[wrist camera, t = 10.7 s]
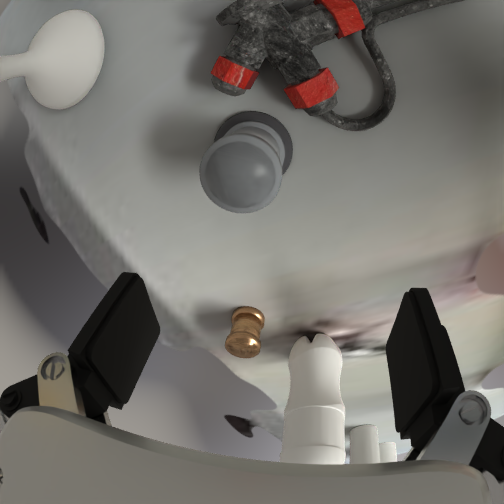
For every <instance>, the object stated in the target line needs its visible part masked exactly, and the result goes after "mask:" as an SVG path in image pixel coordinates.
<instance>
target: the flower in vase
mask: <svg viewBox="0 0 504 504" xmlns="http://www.w3.org/2000/svg"><path fill="white" fill-rule="evenodd" d="M104 53H105V44H104V37H103V32H102V29H101V27H100V25H99V23H98V21H97V20H96V19H95V17H94V16H92V15H91V14H90V13H88V12H86V11H83V10H78V9H75V10H68V11H65V12H62V13H60V14H58V15H56V16H54V17H52V18H51V19H49V20H48V21H47V22H46V23H45V24H44V25H43V26H42V27H41V28H40V29H39V31H38V32H37V34H36V35H35V36H34V38H33V40H32V41H31V43H30V46H29V48H28V51H27V52H25V53H22V54H17V55H8V56H0V82H2V81H5V80H8V79H11V78H15V77H25V80H26V84H27V87H28V89H29V91H30V92H31V94H32V96H33V97H34V98H35V100H36V101H37V102H38V103H40V104H41V105H43V106H45V107H47V108H51V109H56V110H61V109H66V108H69V107H72V106H74V105H75V104H77V103H78V102H80V101H81V100H82V99H83V98H84V97H85V96H86V95H87V94H88V93H89V91H90V90H91V88H92V87H93V85H94V83H95V82H96V80H97V78H98V75H99V73H100V70H101V67H102V64H103V60H104Z"/></svg>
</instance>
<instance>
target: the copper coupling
mask: <svg viewBox="0 0 504 504" xmlns="http://www.w3.org/2000/svg"><path fill="white" fill-rule="evenodd" d="M231 321H232V324H233V325H232V329H231V333H230V334H229V335H228V336H227V338H226V342H225V348H226V350H227V351H228V352H229V353H231V354H232V355H234V356H236V357H240V358H252V357H255V356H256V355H258V354H259V352H260V348H261V342H260V340H259V338H260V332H261V329H262V328H263V326H264V321H265V318H264V315H263V313H262V312H261V311H259V310H258V309H256V308H253V307H249V306H244V307H239V308H237V309H236V310H235V311H234V312H233V315H232V319H231Z"/></svg>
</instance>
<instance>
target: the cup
mask: <svg viewBox="0 0 504 504" xmlns="http://www.w3.org/2000/svg"><path fill="white" fill-rule="evenodd" d="M379 451H380V463H386V462H397V453H396V444H395V443H394V442H384V443H379Z"/></svg>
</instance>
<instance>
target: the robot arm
mask: <svg viewBox="0 0 504 504" xmlns="http://www.w3.org/2000/svg"><path fill="white" fill-rule="evenodd" d="M159 334H160V326H159V323H158V321H157V318H156V315H155V313H154V310H153V307H152V304H151V301H150V299H149V296H148V293H147V290H146V287H145V284H144V281H143V279H142V278H141V277H140V276H139V275H138V274H137V273H129V272H123V273H122V274H121V275H120V276H119V277H118V279H117V280H116V281H115V283H114V284H113V285H112V287H111V288H110V289H109V291H108V292H107V294H106V295H105V296H104V298H103V299H102V301H101V302H100V303H99V305H98V306H97V308H96V309H95V310H94V312H93V313H92V315H91V316H90V318H89V319H88V321H87V322H86V324H85V325H84V327H83V328H82V330H81V331H80V333H79V334H78V335H77V337H76V339H75V340H74V341H73V343H72V345H71V346H70V348H69V349H68V351H69V355H68V356H66V355H65V354H63V353H58V352H56V353H52V354H50V355H48V356H46V357H45V358H44V359H43V360H42V361H41V363H40V365H39V367H38V372H37V375H35V376H32V377H30V378H28V379H25V380H23V381H21V382H18V383H16V384H14V385H11V386H10V387H8V388H7V389H5V390H4V391H3V393H2V395H1V398H0V504H504V427H503V426H501V425H500V424H499V423H497V422H496V421H494V420H493V419H492V418H490V416H491V407H490V404H489V401H488V400H487V399H486V397H485V396H484V395H482V394H481V393H479V392H477V391H471V390H469V391H465V388H464V384H463V381H462V377H461V374H460V370H459V367H458V364H457V360H456V357H455V354H454V351H453V348H452V345H451V342H450V339H449V336H448V333H447V330H446V328H445V327H444V326H443V325H441V323H440V320H439V317H438V315H437V312H436V309H435V307H434V304H433V302H432V299H431V296H430V294H429V291H428V290H427V289H426V288H411V289H410V290H409V292H405V294H404V296H403V299H402V302H401V305H400V308H399V311H398V314H397V317H396V320H395V322H394V325H393V328H392V330H391V333H390V336H389V338H388V341H387V344H386V355H387V362H388V368H389V375H390V383H391V390H392V399H393V407H394V417H395V428H396V431H397V432H398V433H399V432H400V437H401V440H402V439H411V446H412V448H411V450H410V451H409V452H408V454H407V455H406V457H405V458H404V459H403V461H398V462H386V463H370V464H298V463H283V462H271V461H261V460H253V459H245V458H238V457H231V456H225V455H219V454H213V453H208V452H202V451H198V450H193V449H188V448H184V447H180V446H176V445H172V444H168V443H164V442H160V441H157V440H153V439H150V438H146V437H143V436H139V435H136V434H133V433H130V432H127V431H124V430H121V429H118V428H115V427H112V425H111V422H110V419H109V416H108V413H107V409H108V406H111V407H114V408H118V409H121V410H122V407H123V405H124V404H126V403H127V402H128V401H129V399H130V397H131V395H132V392H133V390H134V388H135V385H136V383H137V381H138V379H139V377H140V375H141V372H142V370H143V368H144V366H145V364H146V362H147V360H148V357H149V355H150V353H151V351H152V349H153V347H154V345H155V343H156V341H157V339H158V337H159Z"/></svg>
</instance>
